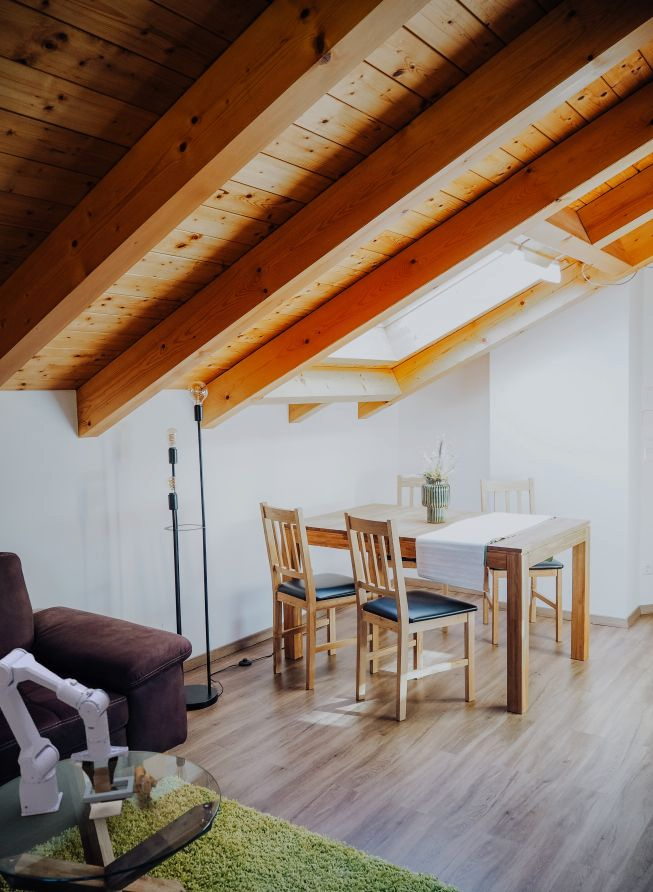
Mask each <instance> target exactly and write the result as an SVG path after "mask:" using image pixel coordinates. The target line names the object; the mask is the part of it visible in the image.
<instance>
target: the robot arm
mask: <svg viewBox="0 0 653 892" xmlns="http://www.w3.org/2000/svg"><path fill="white" fill-rule="evenodd" d="M27 680H28V681H29V680H30V681H32V682H34V683H36V684H38V685H40V686H43V687H45V688H47V689H49V690H51V691H53V692H55V694H56V697H57V699H58V700H59V701H61V702H64V703H65V704H67V705H68V706H70V707H72V708H74V709H75V710H77V711H78V714H79V716H80V718H82V720H83V725H84V727H85V735H86V745H87V746H86V747H87V749H86V750H83V751H80V752H76V753H75V752H74V753H72V754H71V756H70V762H71V765H76V764H77V763H81V770H82V772H84V773H85V775H86V776H87V777H88V779H89V782H91V784H92V787H94V779H93V776H94V772H95V762H101V761H104V760H107V766H108V769H109V775H110V785H111V784H113V782H114V778H115V771H116V768H117V764H118V762H119V758H121V757H123V758H128V757H129V747H128V746H114V745H113V746H112V745H111V740H110V732H109V722H108V714H107V709H108V706H109V705H110V701H111V700H110V698H109V695H108V694H107V693H106V692H105V691H104V690H103V689H100V688H97V689H93V688H88V687H86V685H83V684H81V683H79V682H78V681H77V680H76V679H75V678H74V679H72V678H66V679H63V678H61V677H59V676H58V675H57V674H56V673H54V672H52V671H50V670H49V669H48V668H46V667H45V666H43V665H42V664H41V663H38V662H37V661H36V660H35V657H34V655H33V654H32V653H29V652H28V651H26V650H25V649H23V648H19V647H18V648H14V649H13V650H11V651H10V652H9V653H8V654H6V656H4V657H3V658H1V659H0V710H1V711H2V713H3V715H4V718H5V719H6V721H7V724H8V725H9V728H10V729H11V731H12V734H13V736H14V737H15V739H16V742H17V743H18V746H19V748H20V752H19V756H18V759H17V763H18V765H19V766H20V767H19V768H20V775H21V778H20V781H19V786H18V787H19V788H18V789H19V790H18V791H19V792H18V794H19V801H20V807H21V808H20V809H21V814H20V815H21V817H26V816H33V815H40V814H49V813H54V812H57V811H59V809H60V804H61V802H62V799H63V795H64V792H61V791H60V792H59V788H58V779H57V773H56V772H57V771H56V769H57V765H56V764H57V763H58V762H59V760H60V753H59V750H58V749H57V748H56V746H54V745H53V744H52V742H51V741H50V739H49V738H46V737H42V736H41V735H40V733H39V731H38V729H37V727H36V724H35V723H34V720H33V719H32V717H31V714H30V713H29V711H28V708H27V707H26V705H25V702H24V700H23V698H22V696H21V694H20V692H19V690H18V689H17V686H18V683H21V682H24V681H27Z"/></svg>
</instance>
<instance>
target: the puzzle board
mask: <svg viewBox="0 0 653 892" xmlns="http://www.w3.org/2000/svg"><path fill="white" fill-rule="evenodd" d="M119 786H126V787H127V788H125V789H118V790H111V792H105V793H98V794H95V793H93V791H92V789H93V790H95V788H94V787H92V784H91V781H87V782H86V786H85V789H84V794H83V797H82V801H83V802H82V803H83V804H90V803H96V802H105V801H112V800H117V799H119V800H120V799H125V798H133V797H134V793H135V792H134V789H135V780H134V775H129V776H121V777H114V782H113V784H112V788H113V787H119Z"/></svg>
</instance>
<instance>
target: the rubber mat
mask: <svg viewBox="0 0 653 892" xmlns="http://www.w3.org/2000/svg"><path fill="white" fill-rule="evenodd" d="M122 806H123V799H122V800H120V799H119V800H114V801H107V802H100V803H94V804H91V808H90V812H89V820H95V819H101V818H108V817H115V816H120V815H121V812H122V808H123V807H122Z"/></svg>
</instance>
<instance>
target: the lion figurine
mask: <svg viewBox="0 0 653 892" xmlns="http://www.w3.org/2000/svg"><path fill="white" fill-rule="evenodd" d="M133 773H134V774H133V776H134V780H135V786H134V792H133V793H137V798H138V803H137V804H138V806H139V805H140V806H141V805H143V804H144V800H143V797H144V796H146V800H147V801H152V800H153V797H151V792H152V791H153V789H154V788H157V785H158V783H159V781H158V780H157V779H155V778H154V777H153V776H152V775H151V773H147V770H146V768H145V766H141V765H138V766H137V767H136V768H135V770H134V772H133ZM142 796H143V797H142Z"/></svg>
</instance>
